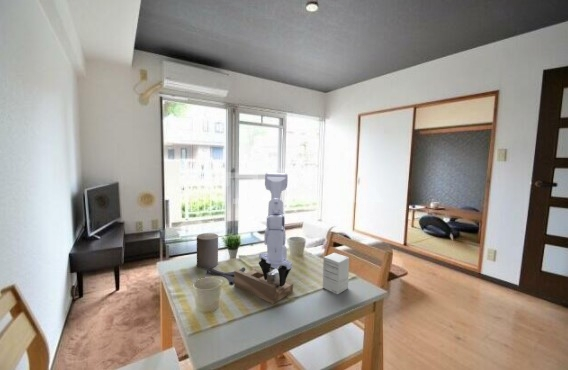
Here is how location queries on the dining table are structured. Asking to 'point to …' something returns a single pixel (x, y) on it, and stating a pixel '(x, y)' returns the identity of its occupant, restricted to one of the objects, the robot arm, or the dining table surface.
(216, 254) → the pillar candle
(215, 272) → the bracket
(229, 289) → the dining table surface
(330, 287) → the supplement box
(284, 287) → the brown holed block
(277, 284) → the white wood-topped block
